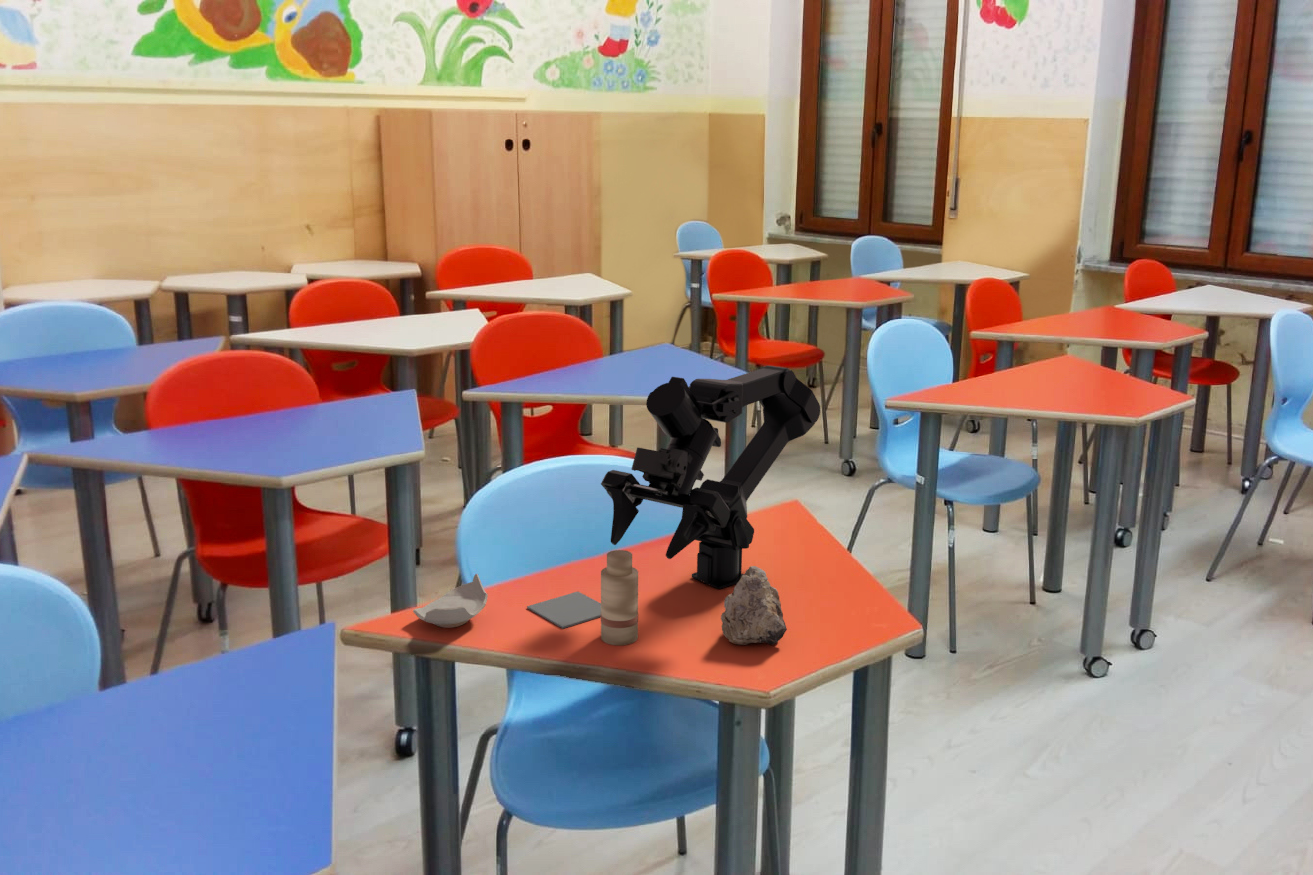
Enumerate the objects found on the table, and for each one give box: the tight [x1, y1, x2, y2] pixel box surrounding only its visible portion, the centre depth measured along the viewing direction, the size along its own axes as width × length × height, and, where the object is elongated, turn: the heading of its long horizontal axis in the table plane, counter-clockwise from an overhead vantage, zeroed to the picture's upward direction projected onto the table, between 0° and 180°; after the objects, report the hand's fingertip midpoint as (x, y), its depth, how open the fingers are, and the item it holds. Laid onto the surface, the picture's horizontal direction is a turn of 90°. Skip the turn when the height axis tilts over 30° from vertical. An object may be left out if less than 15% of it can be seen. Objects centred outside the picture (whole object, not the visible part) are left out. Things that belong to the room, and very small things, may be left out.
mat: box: [526, 591, 601, 630], centre depth 160 cm, size 9×9×1 cm
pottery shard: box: [412, 573, 489, 629], centre depth 155 cm, size 10×11×5 cm
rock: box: [720, 565, 788, 646], centre depth 151 cm, size 8×11×9 cm
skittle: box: [600, 549, 639, 646], centre depth 150 cm, size 5×5×12 cm
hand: (639, 550), depth 152 cm, fingers open, 9 cm apart
